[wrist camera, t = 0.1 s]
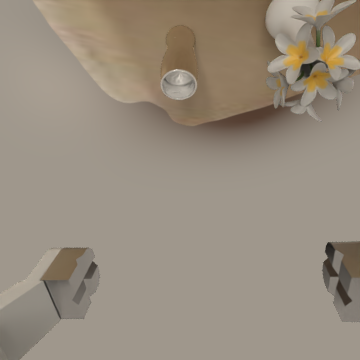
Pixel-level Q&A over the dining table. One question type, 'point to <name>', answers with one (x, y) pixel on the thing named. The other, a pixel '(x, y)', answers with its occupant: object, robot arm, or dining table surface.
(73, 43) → the dining table surface
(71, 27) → the dining table surface
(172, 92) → the beer glass
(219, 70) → the dining table surface
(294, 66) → the flower vase
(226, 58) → the dining table surface
